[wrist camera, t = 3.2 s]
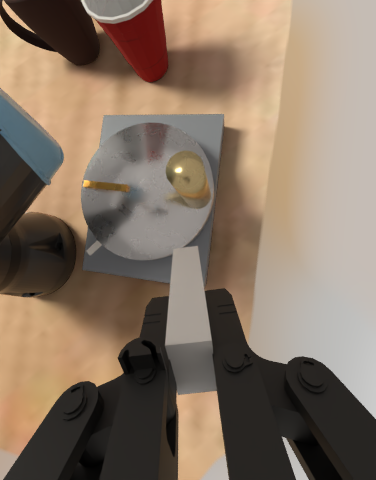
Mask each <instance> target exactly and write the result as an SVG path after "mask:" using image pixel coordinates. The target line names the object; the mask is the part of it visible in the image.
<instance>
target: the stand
mask: <svg viewBox="0 0 376 480" xmlns="http://www.w3.org/2000/svg"><path fill="white" fill-rule="evenodd" d="M141 123H162V124H167V125H171V126H174V127H176V128H178V129H180V130H182V131H184V132H185V133H187V134H188V135H189V136H191V137H192V138H193V139H194V140H195V141H196V142H197V143H198V144H199V146H200V147H201V148H202V150H203V151H204V153H205V155H206V157H207V159H208V161H209V164H210V167H211V171H212V176H213V182H214V202H213V207H212V211H211V214H210V217H209V219H208V221H207V223H206V225H205V227H204V229H203V230H202V231H201V233H200V234H199V236H198V237H197V238H196V239H195V240H194V241H193V242H192V243H191V244H190V245H188V246H187V247H192V246H198V251H199V258H200V264H201V271H202V278H203V285H204V288H205V286H206V281H207V272H208V264H209V255H210V246H211V237H212V229H213V220H214V211H215V202H216V194H217V185H218V176H219V168H220V159H221V150H222V141H223V133H224V114H191V115H104V117H103V124H102V131H101V139H100V146H101V145H102V144H103V143H104V142H105V141H106V140H107V139H109V138H110V137H111V136H113V135H114V134H115V133H117V132H119V131H121V130H123V129H125V128H127V127H130V126H133V125H136V124H141ZM100 146H99V148H100ZM172 257H173V255H171V256H168V257H165V258H161V259H155V260H133V259H128V258H124V257H121V256H119V255H117V254H114V253H113V252H111V251H109V250H108V249H106V248H105V247H104V246H103V245H102V244H100V242H99V241H98V240H97V239H96V238H95V237H94V235H93V234H92V232H91V231H90V229H89V227H88V232H87V239H86V246H85V253H84V260H83V267H82V270H86V271H93V272H99V273H106V274H112V275H119V276H125V277H131V278H138V279H144V280H151V281H157V282H164V283H170V281H171V269H172Z"/></svg>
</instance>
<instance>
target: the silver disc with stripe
mask: <svg viewBox="0 0 376 480" xmlns="http://www.w3.org/2000/svg"><path fill="white" fill-rule="evenodd" d="M213 202H214V182H213V176H212V171H211V167H210V164H209V161H208V159H207V157H206V155H205V153H204V151H203V150H202V148H201V147H200V146H199V144H198V143H197V142H196V141H195V140H194V139H193V138H192V137H191V136H189V135H188V134H187V133H185V132H184V131H182V130H180V129H178V128H176V127H174V126H171V125H167V124H162V123H141V124H136V125H133V126H130V127H127V128H125V129H123V130H121V131H119V132H117V133H115V134H114V135H113V136H111V137H110V138H109V139H107V140H106V141H105V142H104V143H103V144H102V145H101V146H100V148H99V149H98V150H97V151H96V153H95V154H94V156H93V157H92V159H91V161H90V162H89V164H88V166H87V169H86V172H85V174H84V178H83V182H82V189H81V203H82V210H83V214H84V218H85V220H86V223H87V225H88V227H89V229H90V231H91V232H92V234H93V235H94V237H95V238H96V239H97V240H98V241H99V242H100V244H102V245H103V246H104V247H105V248H106V249H108V250H109V251H111V252H113V253H114V254H117V255H119V256H121V257H124V258H128V259H133V260H155V259H161V258H165V257H168V256H171V255H173V249H177V248H185V247H187V246H188V245H190V244H191V243H192V242H193V241H194V240H195V239H196V238H197V237H198V236H199V234H200V233H201V231H202V230H203V229H204V227H205V225H206V223H207V221H208V219H209V217H210V214H211V211H212V207H213Z"/></svg>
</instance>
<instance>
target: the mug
mask: <svg viewBox="0 0 376 480" xmlns="http://www.w3.org/2000/svg"><path fill="white" fill-rule="evenodd" d="M2 1H3V0H0V15H1V17H2V19H3V21H4V23H5V24H6V25H7V27H8V28H9V29H10V30H11V31H12V32H13V33H14V34H16V35H17V36H18V37H20V38H21V39H23V40H24V41H26V42H28V43H30V44H32V45H34V46H37V47H39V48H42V49H45V50H49V51H54V52H58V53H59V54H61V55H62V56H63V57H65V58H66V59H68V60H69V61H71V62H72V63H74V64H75V65H85V64H88V63H91V62H93V61H94V60H96V59H97V58H98V55H99V40H98V37H97V33H96V30H95V27H94V24H93V21H92V18H91V16H90V15H89V14H88V13H87V12H86V10H85V8H84V6H83V4H82V2H81V0H4V1H5V3H6V4H7V5H8V6H9V7H10V8H11V9H12V10H13V11H14V12H15V13H16V15H17V16H18V17H19V18H20V19H21V20H22V21H23V22H24V23H25V24H26V25H27V26H28V27H29V28H30V29H32V30H33V31H34V32H35V33H36V34H35V33H33V32H31V31H29V30H27V29H25V28H24V27H22V26H21V25H19V24H18V23H17V22H15V21H14V20H13V19H12V18H11V17H10V16H9V15H8V14H7V12H6V11H5V9H4V8H3V6H2Z"/></svg>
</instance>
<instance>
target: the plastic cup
mask: <svg viewBox="0 0 376 480" xmlns="http://www.w3.org/2000/svg"><path fill="white" fill-rule="evenodd" d="M81 2H82V4H83V6H84V8H85V10H86V12H87V13H88V14H89V15H90V16H91V17H92V18H94V19H95V20H96V21H97V22H98V24H99V25H100V26H101V27H102V28H103V30H104V31H105V32H106V34H107V35H108V36H109V37H110V38H111V40H112V41H113V42H114V44H115V45H116V47H117V48H118V49H119V51H120V52H121V53H122V55H123V56H124V58H125V59H126V60H127V62H128V63H129V64H130V65H131V66H132V67H133V69H134V70H135V72H136V73H137V74H138V76H140V78H142V79H143V80H144V81H147V82H153V81H157V80H159V79H160V78H162V77H163V75H164V74H165V73H166V71H167V68H168V55H167V48H166V37H165V29H164V21H163V13H162V5H161V0H81Z"/></svg>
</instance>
